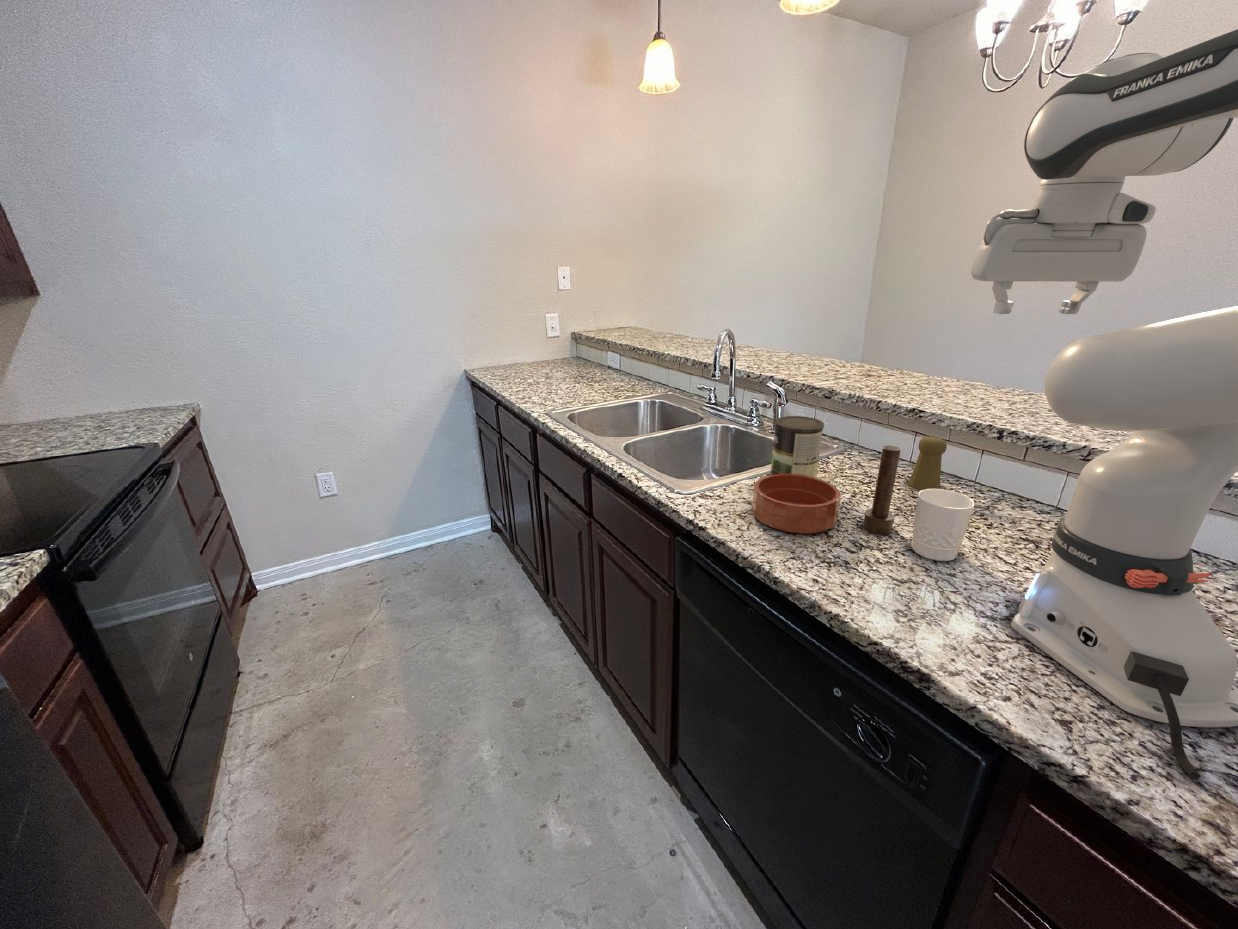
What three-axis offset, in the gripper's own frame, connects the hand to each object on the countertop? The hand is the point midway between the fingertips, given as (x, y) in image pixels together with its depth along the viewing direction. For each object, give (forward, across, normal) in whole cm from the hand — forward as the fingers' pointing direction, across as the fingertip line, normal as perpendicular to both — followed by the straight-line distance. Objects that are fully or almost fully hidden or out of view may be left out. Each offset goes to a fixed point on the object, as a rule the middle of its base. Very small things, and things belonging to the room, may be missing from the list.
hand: (1034, 313), depth 74 cm
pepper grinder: (+41, +4, +21) cm, 46 cm away
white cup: (+39, -8, -7) cm, 40 cm away
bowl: (+40, -28, +6) cm, 49 cm away
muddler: (+39, -14, +1) cm, 42 cm away
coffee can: (+42, -24, +24) cm, 53 cm away
